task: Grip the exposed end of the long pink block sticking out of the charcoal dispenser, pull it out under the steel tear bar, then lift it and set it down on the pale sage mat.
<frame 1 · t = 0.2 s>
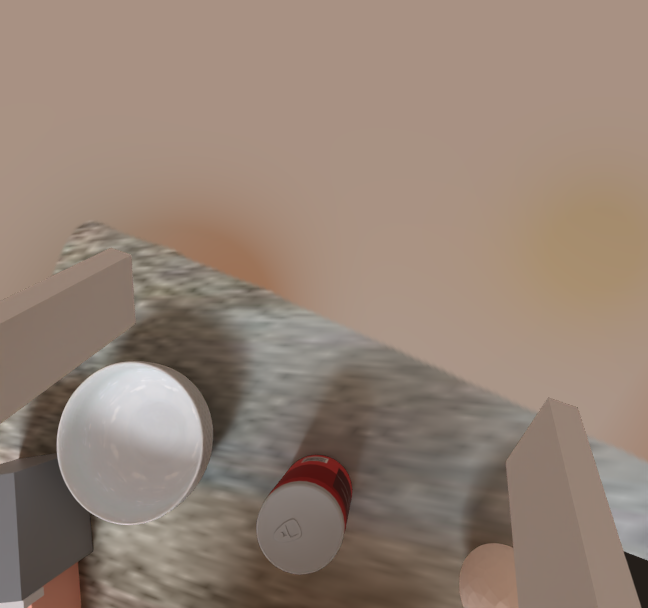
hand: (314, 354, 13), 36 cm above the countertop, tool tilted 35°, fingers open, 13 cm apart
egg: (489, 565, 44), on the countertop
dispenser: (54, 503, 51), on the countertop
canned food: (318, 487, 47), on the countertop
long pink block: (63, 598, 50), on the countertop
cereal bowl: (163, 428, 51), on the countertop
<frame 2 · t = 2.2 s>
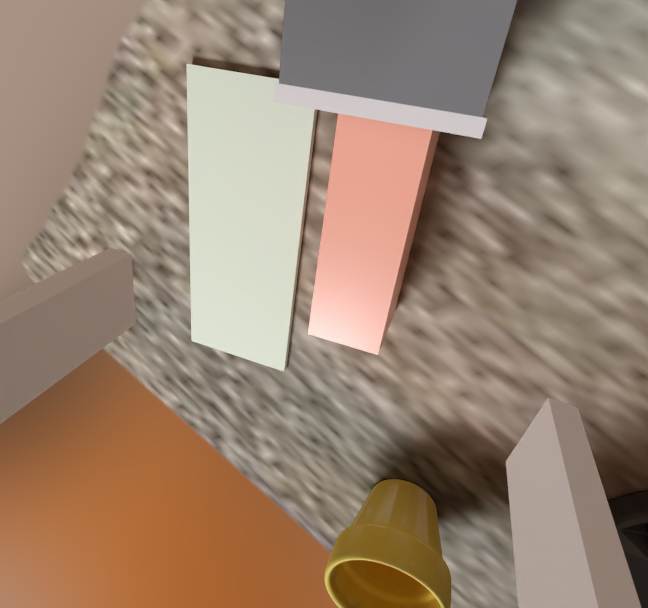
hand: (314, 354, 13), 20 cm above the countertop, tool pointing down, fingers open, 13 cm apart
mat: (245, 236, 35), on the countertop
plant pot: (402, 501, 42), on the countertop
long pink block: (391, 178, 29), on the countertop
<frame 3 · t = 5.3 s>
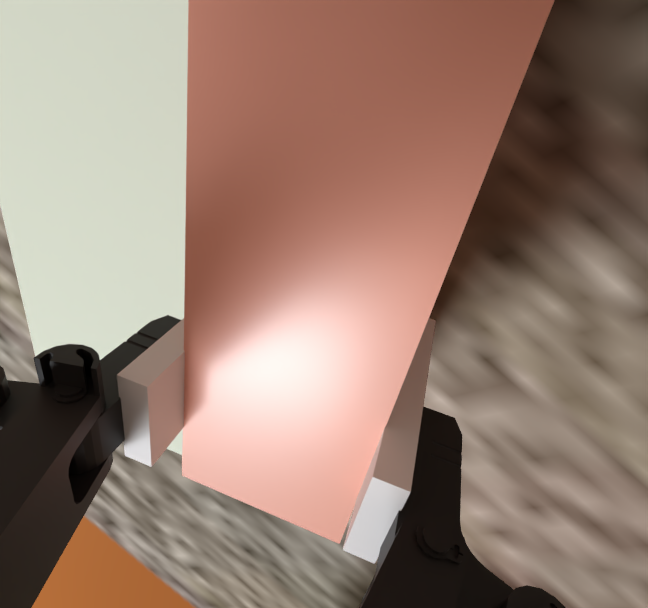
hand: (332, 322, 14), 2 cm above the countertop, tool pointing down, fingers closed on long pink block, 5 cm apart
mat: (105, 231, 18), on the countertop
long pink block: (392, 119, 13), on the countertop, touching gripper
when the fingers open (4 cm above the countertop, at t = 13.5 s): long pink block drops 2 cm, resting on mat.
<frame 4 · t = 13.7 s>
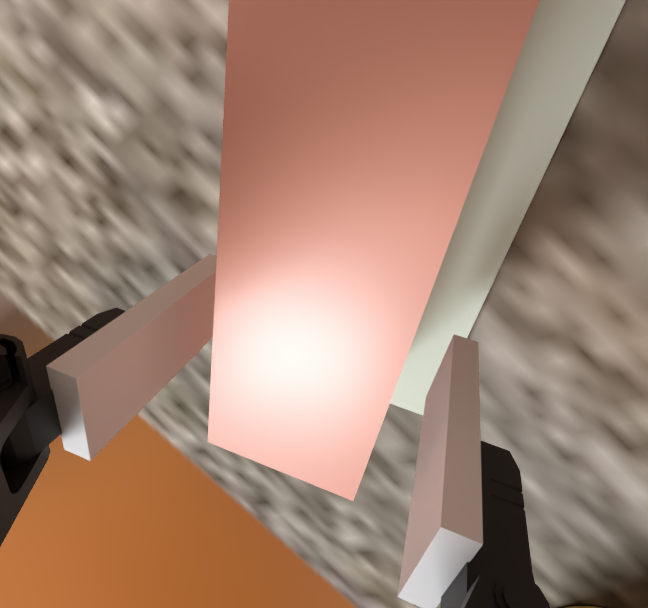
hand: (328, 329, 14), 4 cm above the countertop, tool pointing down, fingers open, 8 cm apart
mat: (401, 114, 14), on the countertop
long pink block: (397, 113, 14), point 1 cm above the countertop, touching mat
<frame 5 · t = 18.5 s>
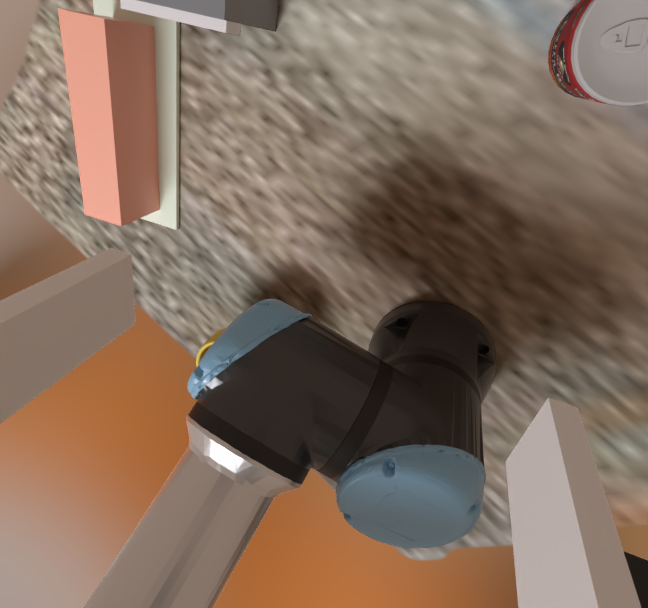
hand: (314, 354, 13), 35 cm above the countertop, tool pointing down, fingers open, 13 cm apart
mat: (142, 122, 49), on the countertop
canned food: (600, 46, 34), on the countertop
long pink block: (138, 123, 49), point 1 cm above the countertop, touching mat
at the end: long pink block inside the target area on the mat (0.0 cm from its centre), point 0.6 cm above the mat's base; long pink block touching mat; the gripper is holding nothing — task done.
